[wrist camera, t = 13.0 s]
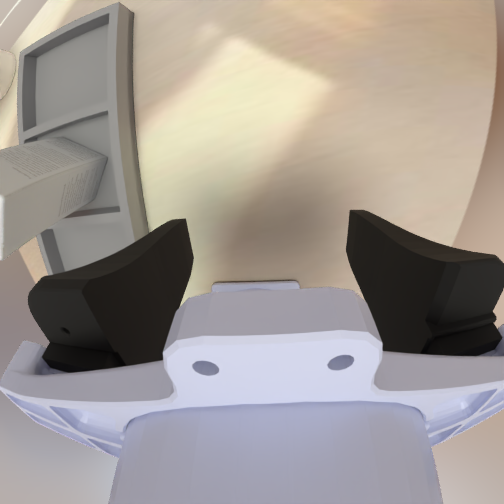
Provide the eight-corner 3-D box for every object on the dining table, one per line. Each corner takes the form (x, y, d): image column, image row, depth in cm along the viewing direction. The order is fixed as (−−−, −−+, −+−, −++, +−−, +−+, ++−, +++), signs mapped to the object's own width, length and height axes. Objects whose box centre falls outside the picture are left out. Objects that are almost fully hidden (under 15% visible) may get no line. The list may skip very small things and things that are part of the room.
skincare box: (50, 177, 20) (-45, 222, 9) (61, 135, 19) (-44, 160, 8) (96, 202, 21) (1, 264, 10) (110, 157, 20) (3, 195, 9)
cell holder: (162, 295, 26) (153, 314, 24) (74, 292, 27) (61, 307, 24) (133, 13, 15) (119, 2, 12) (38, 54, 15) (20, 52, 13)
